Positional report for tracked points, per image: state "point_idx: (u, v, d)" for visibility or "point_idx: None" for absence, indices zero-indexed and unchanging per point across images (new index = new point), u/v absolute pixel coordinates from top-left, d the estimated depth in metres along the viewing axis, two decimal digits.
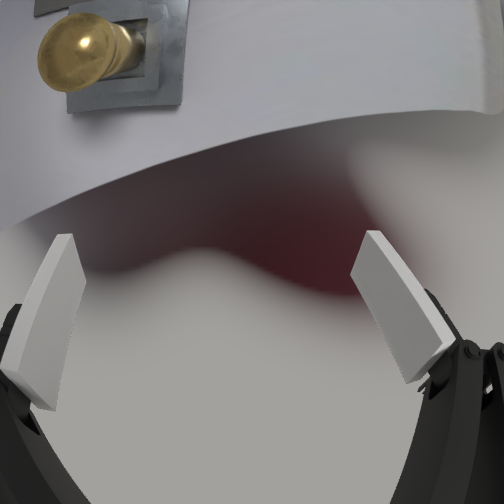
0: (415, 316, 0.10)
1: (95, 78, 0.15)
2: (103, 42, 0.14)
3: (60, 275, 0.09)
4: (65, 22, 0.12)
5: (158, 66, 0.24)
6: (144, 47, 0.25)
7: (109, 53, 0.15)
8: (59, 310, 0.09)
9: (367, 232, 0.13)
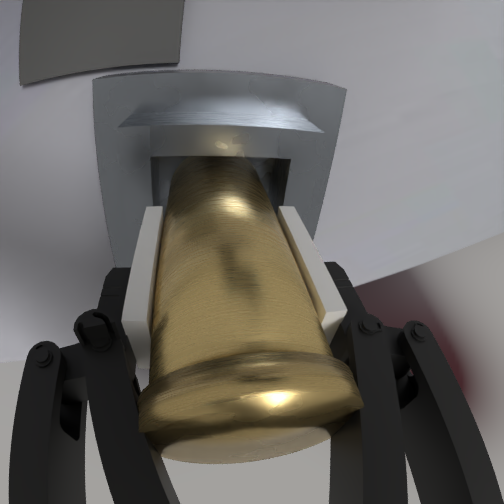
0: (307, 285, 0.10)
1: (297, 450, 0.08)
2: (337, 423, 0.07)
3: (159, 241, 0.12)
4: (228, 411, 0.05)
5: None
6: None
7: None
8: None
9: (279, 207, 0.14)
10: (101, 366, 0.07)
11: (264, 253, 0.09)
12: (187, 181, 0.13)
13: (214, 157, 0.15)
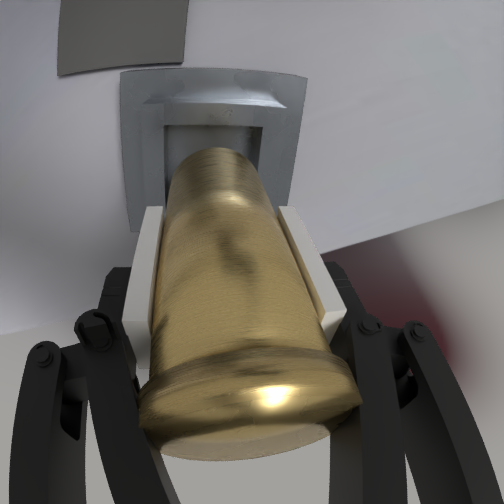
0: (307, 285, 0.10)
1: (296, 447, 0.09)
2: (336, 420, 0.07)
3: (159, 241, 0.12)
4: (227, 406, 0.05)
5: (272, 198, 0.23)
6: None
7: None
8: None
9: (278, 207, 0.14)
10: (102, 366, 0.07)
11: (263, 251, 0.09)
12: (187, 180, 0.13)
13: (214, 156, 0.15)
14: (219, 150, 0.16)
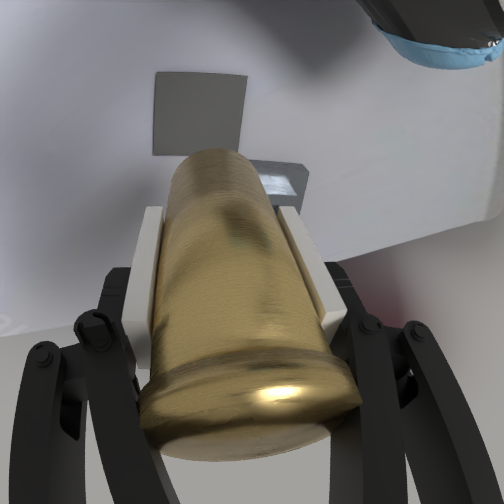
0: (307, 285, 0.10)
1: (296, 448, 0.09)
2: (336, 420, 0.07)
3: (159, 241, 0.12)
4: (228, 407, 0.05)
5: None
6: None
7: None
8: None
9: (279, 207, 0.14)
10: (101, 366, 0.07)
11: (264, 252, 0.09)
12: (188, 181, 0.13)
13: (214, 157, 0.15)
14: (219, 150, 0.16)
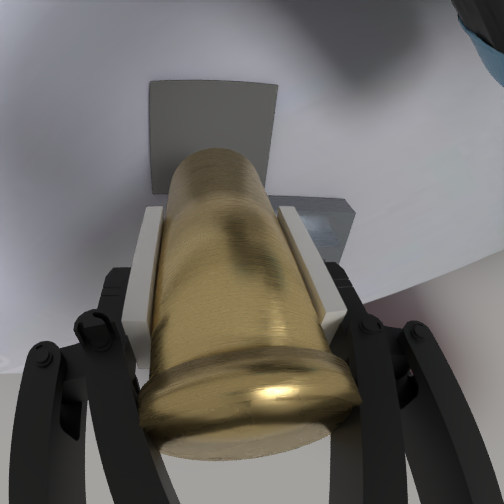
0: (307, 285, 0.10)
1: (296, 447, 0.09)
2: (335, 420, 0.07)
3: (159, 241, 0.12)
4: (227, 406, 0.05)
5: None
6: None
7: None
8: None
9: (279, 207, 0.14)
10: (101, 366, 0.07)
11: (263, 251, 0.09)
12: (188, 181, 0.13)
13: (214, 157, 0.15)
14: (219, 150, 0.16)
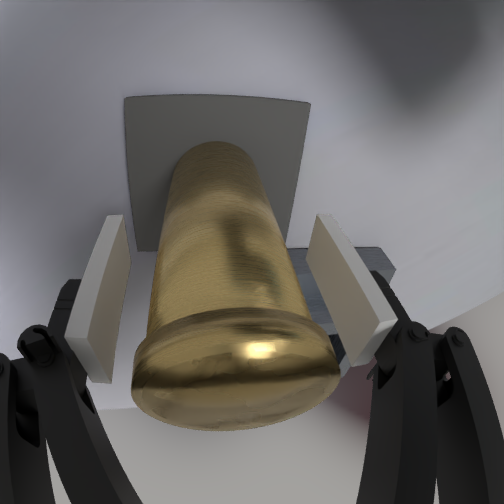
0: (356, 295, 0.10)
1: (282, 419, 0.09)
2: (317, 388, 0.08)
3: (116, 252, 0.11)
4: (211, 358, 0.06)
5: None
6: None
7: (323, 397, 0.09)
8: (114, 285, 0.11)
9: (317, 215, 0.14)
10: (47, 381, 0.06)
11: (253, 230, 0.10)
12: (188, 170, 0.14)
13: (214, 149, 0.16)
14: (219, 143, 0.17)
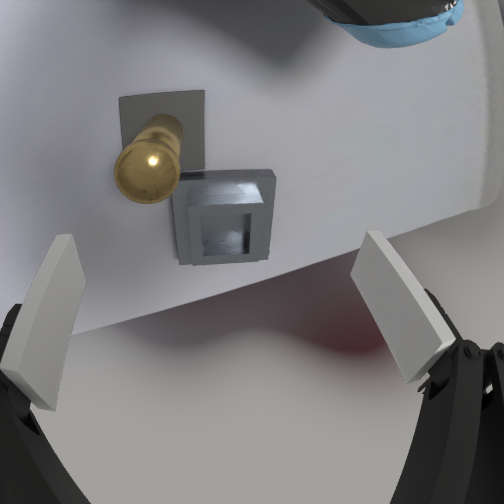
0: (415, 316, 0.10)
1: (167, 195, 0.26)
2: (171, 168, 0.25)
3: (60, 275, 0.09)
4: (135, 148, 0.23)
5: (259, 246, 0.43)
6: None
7: (177, 177, 0.25)
8: (59, 310, 0.09)
9: (367, 232, 0.13)
10: None
11: (159, 132, 0.27)
12: (146, 124, 0.31)
13: (158, 116, 0.33)
14: (162, 114, 0.33)
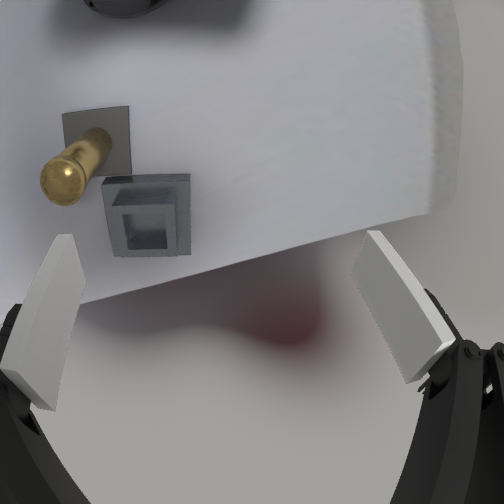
0: (415, 316, 0.10)
1: (77, 199, 0.30)
2: (77, 179, 0.28)
3: (60, 275, 0.09)
4: (52, 163, 0.27)
5: (175, 243, 0.46)
6: (111, 143, 0.39)
7: (82, 185, 0.29)
8: (59, 310, 0.09)
9: (367, 232, 0.13)
10: None
11: (78, 147, 0.30)
12: None
13: (90, 130, 0.36)
14: (94, 128, 0.37)
